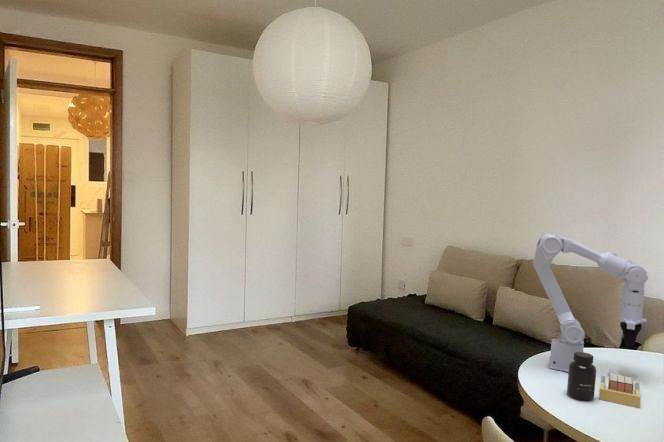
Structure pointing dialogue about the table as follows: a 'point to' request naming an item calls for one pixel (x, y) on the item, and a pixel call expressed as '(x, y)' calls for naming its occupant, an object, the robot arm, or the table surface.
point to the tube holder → (620, 395)
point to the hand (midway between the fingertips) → (629, 346)
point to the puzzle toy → (620, 383)
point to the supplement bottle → (581, 377)
